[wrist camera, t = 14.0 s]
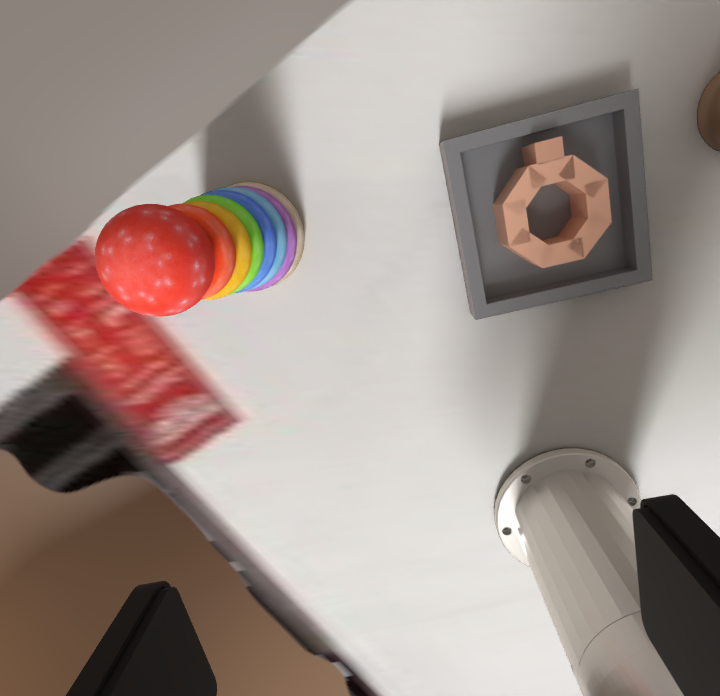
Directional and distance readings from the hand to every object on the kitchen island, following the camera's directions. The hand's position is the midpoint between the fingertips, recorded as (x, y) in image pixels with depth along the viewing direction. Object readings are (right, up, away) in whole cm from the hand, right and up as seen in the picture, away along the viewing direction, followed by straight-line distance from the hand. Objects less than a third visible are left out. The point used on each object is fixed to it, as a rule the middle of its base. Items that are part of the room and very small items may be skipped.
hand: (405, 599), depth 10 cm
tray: (+13, +15, +26) cm, 33 cm away
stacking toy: (-9, +14, +28) cm, 33 cm away
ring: (+13, +15, +26) cm, 33 cm away
